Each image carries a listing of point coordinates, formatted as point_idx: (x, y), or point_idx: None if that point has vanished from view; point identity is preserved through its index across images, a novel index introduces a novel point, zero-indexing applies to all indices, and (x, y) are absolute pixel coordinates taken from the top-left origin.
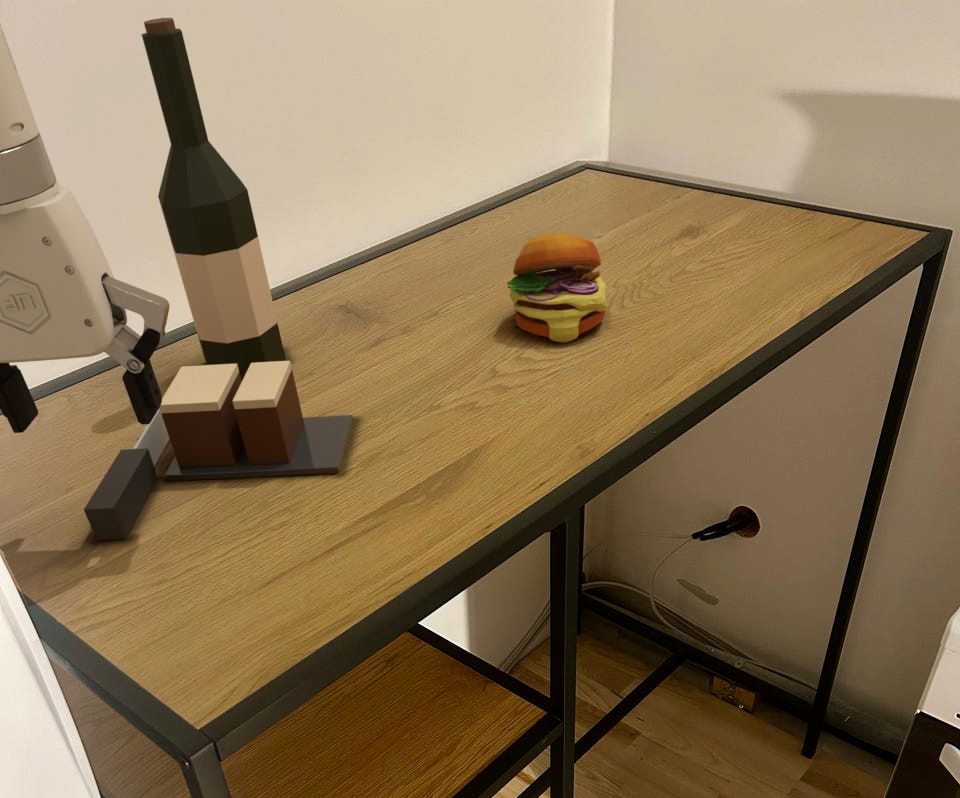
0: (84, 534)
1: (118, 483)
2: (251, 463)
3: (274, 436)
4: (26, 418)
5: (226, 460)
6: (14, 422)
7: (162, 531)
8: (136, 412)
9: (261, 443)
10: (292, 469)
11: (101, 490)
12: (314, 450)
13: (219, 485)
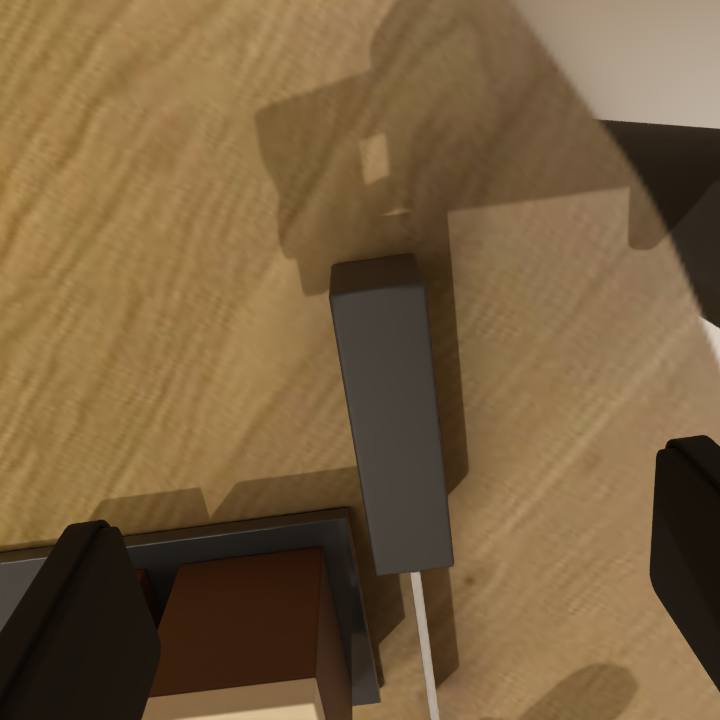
0: (463, 280)
1: (377, 416)
2: (138, 571)
3: None
4: (669, 516)
5: (195, 572)
6: (706, 464)
7: (248, 310)
8: (76, 557)
9: None
10: (26, 559)
11: (414, 380)
12: None
13: (201, 501)
